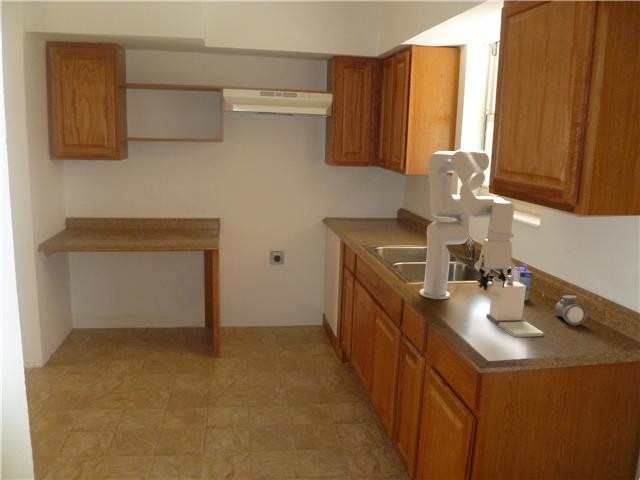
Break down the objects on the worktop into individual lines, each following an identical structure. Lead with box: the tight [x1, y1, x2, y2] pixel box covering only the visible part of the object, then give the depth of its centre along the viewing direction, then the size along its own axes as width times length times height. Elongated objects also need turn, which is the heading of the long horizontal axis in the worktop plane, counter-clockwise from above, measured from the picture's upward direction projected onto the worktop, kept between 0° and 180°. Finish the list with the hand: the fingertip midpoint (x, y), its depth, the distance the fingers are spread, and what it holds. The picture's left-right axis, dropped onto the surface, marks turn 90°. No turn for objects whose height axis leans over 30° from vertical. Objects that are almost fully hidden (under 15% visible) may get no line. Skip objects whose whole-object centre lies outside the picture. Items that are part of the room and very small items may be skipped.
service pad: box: [498, 321, 545, 338], centre depth 199 cm, size 11×11×1 cm
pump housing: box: [485, 274, 526, 326], centre depth 208 cm, size 8×11×17 cm
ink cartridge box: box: [510, 263, 533, 301], centre depth 239 cm, size 10×6×14 cm, turn 2°
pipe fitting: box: [553, 294, 587, 327], centre depth 213 cm, size 12×8×10 cm, turn 3°
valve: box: [476, 272, 503, 300], centre depth 196 cm, size 7×7×12 cm
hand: (492, 286), depth 196 cm, fingers closed on valve, 5 cm apart
